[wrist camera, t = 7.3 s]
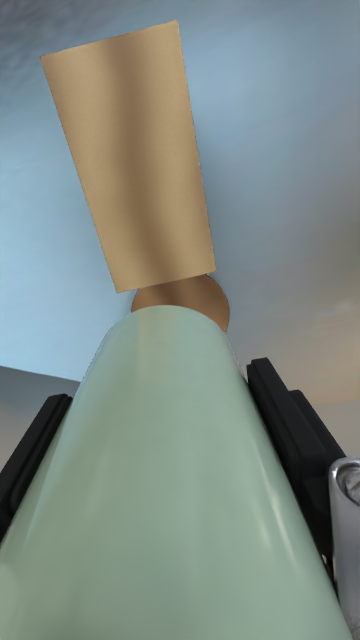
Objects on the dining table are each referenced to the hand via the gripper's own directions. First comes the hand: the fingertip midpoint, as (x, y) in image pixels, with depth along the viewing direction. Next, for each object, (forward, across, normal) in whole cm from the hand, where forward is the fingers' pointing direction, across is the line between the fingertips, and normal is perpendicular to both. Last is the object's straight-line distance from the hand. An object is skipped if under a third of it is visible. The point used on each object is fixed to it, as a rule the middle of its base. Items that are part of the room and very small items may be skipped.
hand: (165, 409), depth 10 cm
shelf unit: (+29, 0, -9) cm, 31 cm away
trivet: (+29, 0, +9) cm, 31 cm away
